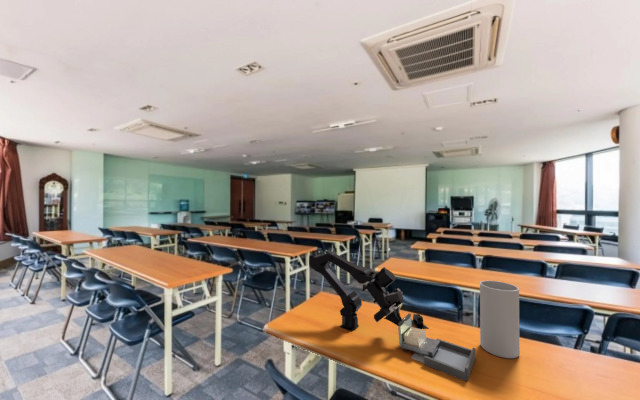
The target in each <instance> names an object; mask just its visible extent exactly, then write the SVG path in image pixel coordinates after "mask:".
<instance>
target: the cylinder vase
mask: <svg viewBox="0 0 640 400" xmlns="http://www.w3.org/2000/svg"><path fill="white" fill-rule="evenodd" d="M479 325H480V328H479V329H480V331H479V333H480V334H479V335H480V340H479V344H480V346H481V347H482V348H483V350H484V351H486V352H488V353H489V354H491V355H493V356H495V357H499V358H502V359H516V358H518V357H520V352H521V351H520V348H521V347H520V345H521V344H520V288H519V287H518V286H516V285H515V284H512V283H509V282H508V283H507V282H504V281H498V280H482V281H480V282H479Z"/></svg>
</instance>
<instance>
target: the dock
mask: <svg viewBox="0 0 640 400" xmlns="http://www.w3.org/2000/svg"><path fill="white" fill-rule="evenodd" d="M435 340H439V341H440V344H441V345H440V346H439V349H438V350H437V351H436V352H435V354H434V357H433V358H430V357H428V355H426V354H423V353H419V352H416V351H414V352H413V354H412V355H411V357H410V359H412V360H414V361H418V362H420V363H422V364H423V365H424V366H426V367H428V368H431V369H434V370H436V371H438V372H441V373H444V374H447V375H449V376H452V377H453V378H456V379H458V380H461V381H464V382H466V381H467V382H468V381H469V378H470V375H471V372H472V370H473V369H474V368H473V367H474V365H475V362H476V348H475V347H472V348H468V347H464V346H461V345H459V344H456V343H452V342H449V341H446V340H442V339H441V338H436V339H435Z"/></svg>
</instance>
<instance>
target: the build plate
mask: <svg viewBox="0 0 640 400" xmlns="http://www.w3.org/2000/svg"><path fill="white" fill-rule="evenodd" d="M412 315H413V316H412V319H411V323H412V326H413V327H414V328H418V329H422V330H428V329H430V327H428V326H427V325H425V324H424V318H423V316H422V315H421V314H420V313H413V314H412Z"/></svg>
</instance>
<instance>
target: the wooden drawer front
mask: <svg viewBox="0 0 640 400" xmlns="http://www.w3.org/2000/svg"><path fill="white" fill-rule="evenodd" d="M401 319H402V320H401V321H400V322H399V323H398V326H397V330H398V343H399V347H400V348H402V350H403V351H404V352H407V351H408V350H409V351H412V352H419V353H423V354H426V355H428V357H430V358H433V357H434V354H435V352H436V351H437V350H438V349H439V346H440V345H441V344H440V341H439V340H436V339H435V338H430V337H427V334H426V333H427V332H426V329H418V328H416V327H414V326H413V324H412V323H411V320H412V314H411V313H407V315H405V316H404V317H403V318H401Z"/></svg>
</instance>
